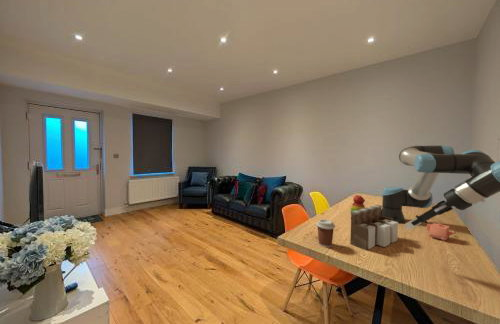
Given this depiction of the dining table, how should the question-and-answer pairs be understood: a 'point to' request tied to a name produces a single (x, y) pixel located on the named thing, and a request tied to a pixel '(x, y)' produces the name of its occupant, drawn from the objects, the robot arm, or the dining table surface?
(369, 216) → the brown slotted rack
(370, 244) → the key three
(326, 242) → the coffee cup
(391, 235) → the key one
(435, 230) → the pink cube teapot
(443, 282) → the dining table surface
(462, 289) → the dining table surface
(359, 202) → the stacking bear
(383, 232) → the key two
